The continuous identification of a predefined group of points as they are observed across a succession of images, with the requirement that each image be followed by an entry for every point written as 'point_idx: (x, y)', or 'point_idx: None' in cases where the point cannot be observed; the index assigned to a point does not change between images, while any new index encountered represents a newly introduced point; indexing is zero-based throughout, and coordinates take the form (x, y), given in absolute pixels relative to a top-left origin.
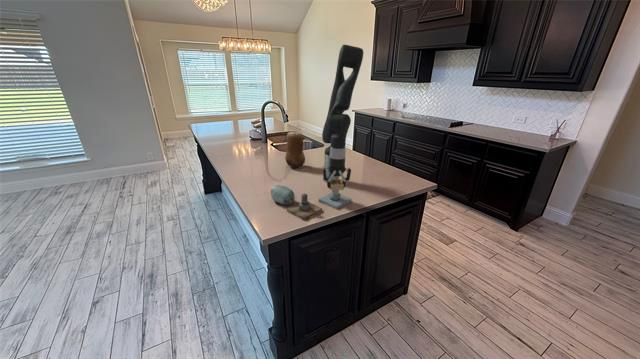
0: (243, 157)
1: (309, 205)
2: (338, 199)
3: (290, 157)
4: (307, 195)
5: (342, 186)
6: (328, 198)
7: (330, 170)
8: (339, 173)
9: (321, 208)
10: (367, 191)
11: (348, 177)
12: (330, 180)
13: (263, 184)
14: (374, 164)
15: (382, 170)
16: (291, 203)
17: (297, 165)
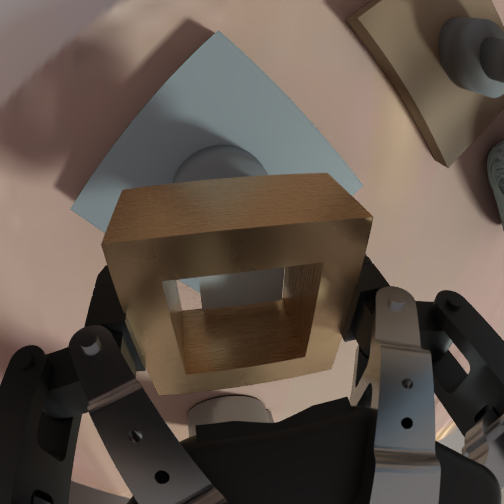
0: (449, 421)
1: (467, 28)
2: (189, 159)
3: None
4: None
5: (131, 217)
6: None
7: (475, 486)
8: (227, 498)
9: (364, 17)
10: (13, 337)
11: (16, 399)
12: (328, 348)
13: (493, 319)
14: (75, 476)
15: None
16: (498, 144)
17: None
